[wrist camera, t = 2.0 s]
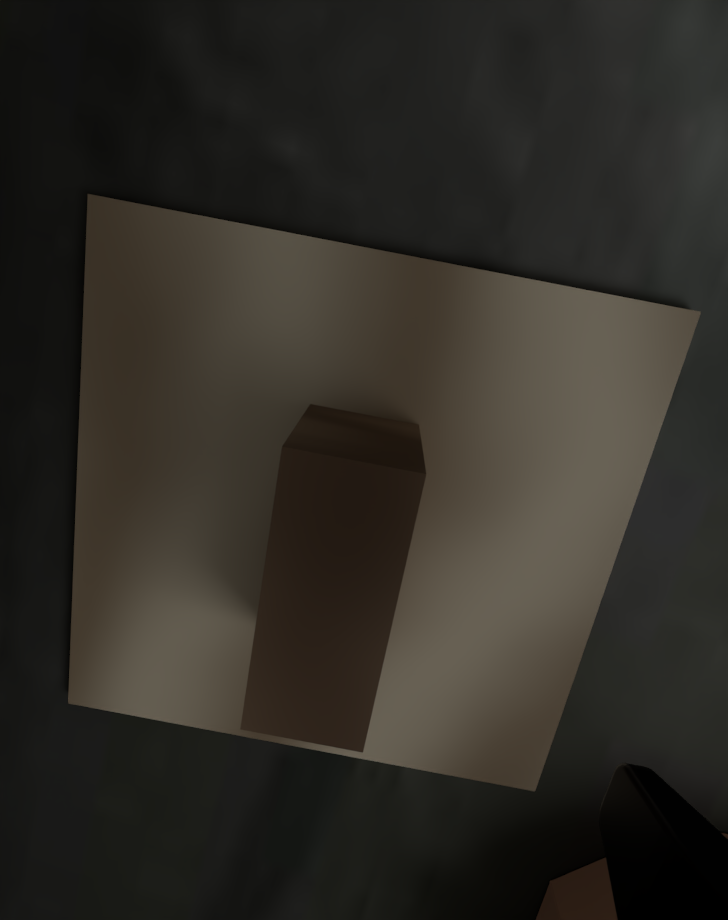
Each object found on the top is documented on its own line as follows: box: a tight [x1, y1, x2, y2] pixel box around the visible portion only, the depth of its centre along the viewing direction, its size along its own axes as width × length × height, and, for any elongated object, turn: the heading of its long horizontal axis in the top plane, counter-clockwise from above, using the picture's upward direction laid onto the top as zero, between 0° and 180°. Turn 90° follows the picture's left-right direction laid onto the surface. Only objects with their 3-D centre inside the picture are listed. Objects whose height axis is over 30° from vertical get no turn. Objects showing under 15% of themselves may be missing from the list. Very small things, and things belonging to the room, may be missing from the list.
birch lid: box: [68, 194, 701, 791], centre depth 13 cm, size 13×13×4 cm
